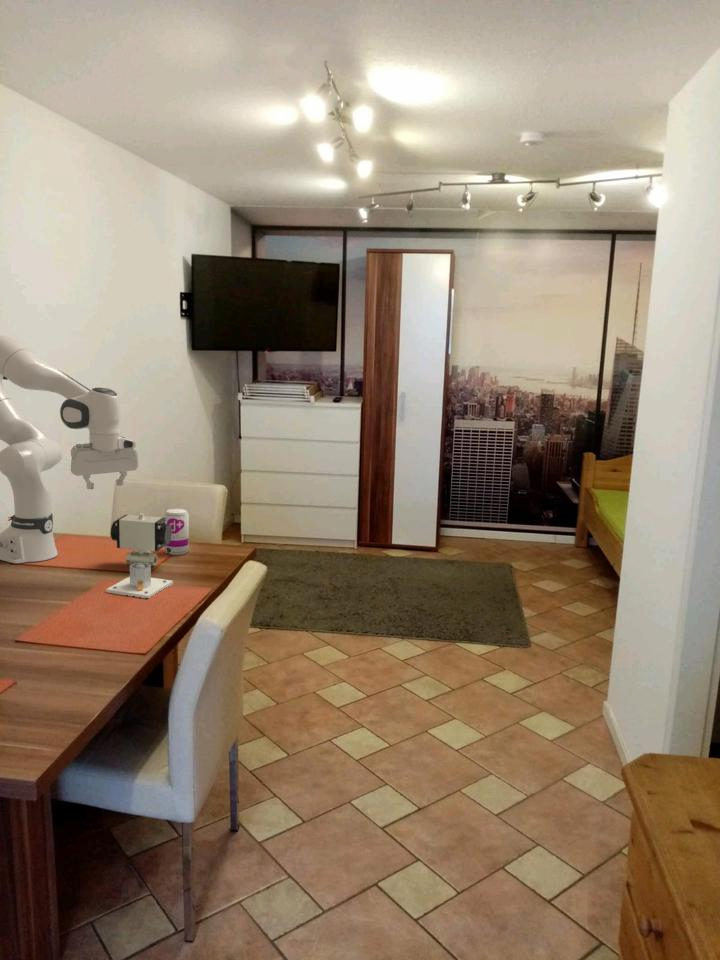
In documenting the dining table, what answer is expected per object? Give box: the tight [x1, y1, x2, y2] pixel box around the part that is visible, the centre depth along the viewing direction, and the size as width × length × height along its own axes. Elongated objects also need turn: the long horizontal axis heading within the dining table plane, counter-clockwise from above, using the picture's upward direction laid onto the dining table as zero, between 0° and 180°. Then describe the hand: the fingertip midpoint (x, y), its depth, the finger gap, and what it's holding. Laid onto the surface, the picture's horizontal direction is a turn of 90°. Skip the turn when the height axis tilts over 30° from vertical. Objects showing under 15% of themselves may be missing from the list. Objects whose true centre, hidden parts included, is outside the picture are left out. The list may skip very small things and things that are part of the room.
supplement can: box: [164, 508, 190, 556], centre depth 254 cm, size 8×8×15 cm
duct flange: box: [105, 564, 174, 599], centre depth 219 cm, size 14×14×7 cm
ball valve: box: [110, 512, 172, 567], centre depth 239 cm, size 18×8×18 cm, turn 84°
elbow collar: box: [129, 563, 152, 591], centre depth 218 cm, size 8×6×6 cm
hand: (105, 487), depth 222 cm, fingers open, 8 cm apart
